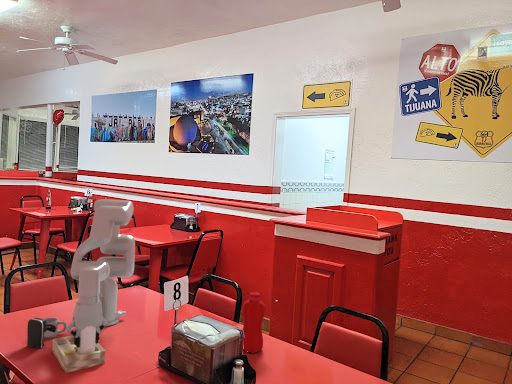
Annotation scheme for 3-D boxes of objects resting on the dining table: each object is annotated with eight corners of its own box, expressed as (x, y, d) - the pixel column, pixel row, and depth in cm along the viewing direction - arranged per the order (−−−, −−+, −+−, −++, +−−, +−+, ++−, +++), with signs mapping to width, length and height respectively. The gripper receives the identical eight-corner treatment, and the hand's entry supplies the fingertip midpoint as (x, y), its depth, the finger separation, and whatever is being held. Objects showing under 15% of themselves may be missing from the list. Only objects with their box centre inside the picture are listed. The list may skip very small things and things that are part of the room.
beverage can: (97, 354, 157) (99, 324, 156) (81, 359, 152) (83, 328, 152) (90, 349, 161) (91, 319, 160) (74, 353, 157) (76, 323, 156)
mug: (39, 339, 173) (40, 323, 172) (41, 332, 179) (42, 318, 179) (65, 337, 177) (66, 322, 176) (66, 330, 183) (67, 316, 182)
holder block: (88, 343, 172) (88, 331, 171) (104, 363, 156) (105, 350, 156) (52, 351, 163) (52, 338, 163) (65, 373, 147) (66, 358, 147)
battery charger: (47, 345, 167) (48, 318, 167) (40, 349, 164) (41, 321, 163) (33, 342, 169) (34, 315, 169) (26, 346, 166) (27, 318, 165)
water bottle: (248, 341, 186) (252, 287, 184) (265, 350, 178) (269, 294, 176) (233, 346, 179) (237, 290, 178) (250, 355, 171) (254, 297, 170)
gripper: (108, 292, 164) (105, 336, 165) (61, 299, 153) (60, 345, 154) (114, 298, 158) (112, 343, 159) (67, 305, 147) (65, 353, 148)
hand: (86, 343), depth 156 cm, fingers closed on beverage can, 6 cm apart
